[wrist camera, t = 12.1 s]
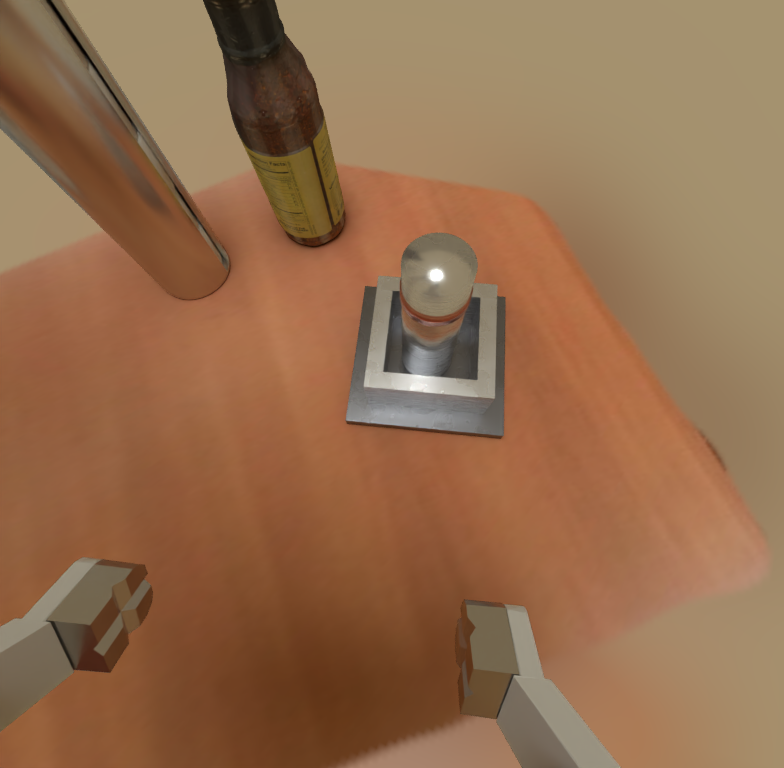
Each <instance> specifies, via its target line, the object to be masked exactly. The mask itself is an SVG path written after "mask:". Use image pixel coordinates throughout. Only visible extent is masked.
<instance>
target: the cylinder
mask: <svg viewBox="0 0 784 768" xmlns="http://www.w3.org/2000/svg"><path fill="white" fill-rule="evenodd" d="M477 267H478V264H477V258H476V255H475V253H474V251H473V250H472V248H471V247H470V246H469V245H468V244H467V243H466V242H465V241H464V240H462V239H460V238H459V237H456V236H454V235H451V234H447V233H431V234H426V235H423V236H421V237H419V238H417V239H415V240H414V241H413V242H411V243H410V244H409V245H408V247H407V248H406V249H405V251H404V253H403V256H402V260H401V279H400V302H401V306H402V360H403V364H404V366H405V367H406V369H407V370H408V371H409V372H410V373H411V374H412V375H424V376H435V377H438V376H440V375H442V374H443V373H444V372H445V371H446V370H447V369H448V368H449V366H450V363H451V360H452V356H453V353H454V349H455V346H456V342H457V339H458V335H459V332H460V328H461V325H462V322H463V318H464V315H465V312H466V310H467V309H468V306H469V303H470V300H471V297H472V293H473V283H474V280H475V276H476V273H477Z"/></svg>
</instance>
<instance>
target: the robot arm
mask: <svg viewBox="0 0 784 768" xmlns="http://www.w3.org/2000/svg"><path fill="white" fill-rule="evenodd" d="M147 574H148V573H147V570H146V567H145V565H143V564H135V563H127V562H119V561H111V560H104V559H96V558H87V557H82V558H81V559H79V560H77V561H76V562H74V563H73V564H72V565H71V566H70V567H69V568H68V570H67V571H66V572H65V573H64V574H63V575H62V576H61V577H60V578H59V579H58V580H57V581H56V582H55V584H54V585H53V586H52V587H51V588H50V589H49V590H48V591H47V592H46V593H45V594H44V595H43V596H42V597H41V599H40V600H39V601H38V602H37V603H36V604H35V605H34V606H33V607H32V608H31V609H30V610H29V611H28V613H27V614H26V615H25V616H24V617H23V618H15V619H13V620H11V621H10V622H8V623H6V624H4V625H2V626H1V627H0V732H1V731H2V730H3V729H4V728H6V727H7V726H8V725H9V724H11V723H12V722H13V721H14V720H16V719H17V718H18V717H19V716H21V715H22V714H23V713H24V712H25V711H27V710H28V709H29V708H30V707H32V706H33V705H34V704H35V703H37V702H38V701H39V700H40V699H42V698H43V697H44V696H45V695H47V694H48V693H49V692H50V691H51V690H53V689H54V688H55V687H56V686H58V685H59V684H60V683H61V682H63V681H64V680H65V679H66V678H68V677H69V676H70V675H71V674H72V673H74V670H83V671H95V672H106V673H110V672H111V671H112V669H113V668H114V666H115V664H116V663H117V661H118V660H119V658H120V657H121V655H122V654H123V652H124V650H125V649H126V647H127V646H128V644H129V633H130V632H132V631H133V630H135V629H136V628H138V627H139V626H140V625H141V624H142V622H143V621H144V619H145V617H146V616H147V614H148V612H149V609H150V606H151V603H152V598H153V591H152V587H151V585H150V584H149V583H148V582H147V581H146V580H144V578H145V577H146V575H147ZM455 653H456V662H457V664H458V665H459V667H460V668H461V670H460V674H459V678H458V693H459V705H460V714H464V715H471V716H478V717H485V718H491V719H497V724H498V725H499V727H500V729H501V731H502V733H503V734H504V736H505V738H506V740H507V742H508V743H509V745H510V747H511V749H512V751H513V752H514V754H515V756H516V758H517V759H518V761H519V763H520V765H521V767H522V768H621V767H620V766H619V764H618V763H617V762H616V761H615V760H614V758H613V757H612V756H611V754H610V753H609V752H608V751H607V749H606V748H605V747H604V746H603V744H602V743H601V742H600V741H599V739H598V738H597V737H596V736H595V734H594V733H593V732H592V730H591V729H590V728H589V727H588V726H587V724H586V723H585V722H584V720H583V719H582V718H581V717H580V715H579V714H578V713H577V712H576V710H575V709H574V708H573V707H572V705H571V704H570V703H569V702H568V700H567V699H566V698H565V697H564V695H563V694H562V693H561V692H560V690H559V689H558V688H557V686H556V685H555V684H554V683H553V682H552V680H551V679H545V678H544V674H543V671H542V667H541V663H540V659H539V655H538V651H537V647H536V644H535V640H534V636H533V632H532V628H531V624H530V620H529V616H528V613H527V610H526V609H525V607H524V606H520V605H509V604H502V603H496V602H485V601H474V600H463V602H462V605H461V618H460V619H458V621H457V626H456V635H455Z"/></svg>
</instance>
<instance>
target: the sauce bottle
mask: <svg viewBox="0 0 784 768" xmlns="http://www.w3.org/2000/svg"><path fill="white" fill-rule="evenodd" d="M203 2H204V4H205V7H206V9H207V12H208V14H209V16H210V19H211V21H212V24H213V27H214V28H215V32H216V34H217V39H218V43H219V46H220V48H221V50H222V53H223V59H224V65H225V71H226V77H227V98H228V102H229V106H230V111H231V115H232V119H233V122H234V125H235V128H236V130H237V132H238V134H239V137H240V139H241V141H242V143H243V145H244V147H245V149H246V151H247V154H248V156H249V158H250V160H251V162H252V164H253V167H254V169H255V171H256V173H257V176H258V178H259V180H260V182H261V184H262V186H263V189H264V191H265V193H266V195H267V197H268V199H269V202H270V204H271V206H272V208H273V210H274V213H275V215H276V217H277V219H278V221H279V223H280V225H281V226H282V227H283V228H284V230H285V231H286V233H287V235H288V236H289V237H290V238H291V239H293V240H294V241H296V242H298V243H300V244H304V245H309V246H317V245H321V244H324V243H326V242H328V241H330V240H331V239H333V238H335V237H336V236H337V235H338V234H339V233H340V231H341V230H342V227H343V224H344V220H345V211H344V202H343V197H342V192H341V188H340V184H339V179H338V174H337V170H336V166H335V161H334V157H333V153H332V148H331V144H330V139H329V135H328V130H327V126H326V122H325V117H324V113H323V109H322V107H321V105H320V103H319V98H318V93H317V88H316V83H315V81H314V78H313V76H312V74H311V73H310V71H309V70H308V68H307V65H306V62H305V59H304V57H303V55H302V54H301V53H300V52H299V51H298V49H297V48H296V47H295V46H294V45H293V43H292V42H291V41H290V39H289V38H288V37H287V36H286V34H285V33H284V27H283V24H282V21H281V20H280V18H279V15H278V10H277V6H276V3H275V0H203Z"/></svg>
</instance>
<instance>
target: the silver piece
mask: <svg viewBox="0 0 784 768" xmlns="http://www.w3.org/2000/svg"><path fill="white" fill-rule="evenodd" d="M0 129H1V130H2V131H3V132H4V133H6V134H7V136H8V137H10V138H11V140H13V141H14V142H15V143H16V144H17V145H18V146H19V147H20V148H21V149H22V150H23V151H24V152H25V153H26V154H27V155H28V156H29V157H30V158H31V159H32V160H33V161H34V162H35V163H36V164H37V165H38V166H39V167H40V168H41V169H42V170H43V171H44V172H45V173H46V174H47V175H48V176H49V177H50V178H51V179H52V180H53V181H54V182H55V183H56V184H57V185H58V186H59V187H60V188H61V189H62V190H63V191H64V192H65V193H66V194H67V195H69V196H70V197H71V198H72V199H73V200H74V201H75V202H76V203H77V204H78V205H79V206H80V207H81V208H82V209H83V210H84V211H85V212H86V213H87V214H88V215H89V216H90V217H91V218H92V219H93V220H94V221H95V222H96V223H97V224H98V225H99V226H100V227H101V228H102V229H103V230H104V231H105V232H106V233H107V234H108V235H109V236H110V237H111V238H112V239H113V240H114V241H115V242H116V243H117V244H118V245H119V246H120V247H121V248H122V249H123V250H125V251H126V252H127V253H128V254H129V255H130V256H131V257H132V258H133V259H134V260H135V261H136V262H137V263H138V264H139V265H140V266H141V267H142V268H143V269H144V270H145V271H146V272H147V273H148V274H149V275H150V276H151V277H152V278H153V279H154V280H155V281H156V282H157V283H158V284H159V285H160V286H161V287H162V288H163V289H164V290H165V291H166V292H167V293H169V294H171V295H172V296H174V297H176V298H180V299H189V300H193V299H198V298H202V297H205V296H207V295H209V294H211V293H213V292H214V291H215V290H217V289H218V288H219V287H220V286H221V285H222V284H223V283H224V281H225V280H226V278H227V276H228V274H229V269H230V260H229V256H228V254H227V252H226V250H225V249H224V247H223V245H222V244H221V242H220V241H219V239H218V238H217V236H216V235H215V233H214V232H213V230H212V228H211V227H210V225H209V224H208V222H207V221H206V219H205V218H204V216H203V214H202V213H201V211H200V210H199V208H198V207H197V205H196V204H195V202H194V201H193V199H192V197H191V196H190V194H189V193H188V191H187V190H186V188H185V187H184V185H183V184H182V182H181V180H180V179H179V178H178V176H177V174H176V173H175V171H174V170H173V168H172V167H171V165H170V163H169V162H168V160H167V159H166V157H165V156H164V154H163V153H162V151H161V150H160V148H159V146H158V145H157V143H156V142H155V140H154V139H153V137H152V136H151V134H150V133H149V131H148V129H147V128H146V126H145V125H144V123H143V122H142V120H141V119H140V117H139V115H138V114H137V113H136V111H135V109H134V108H133V106H132V105H131V103H130V102H129V100H128V98H127V97H126V95H125V94H124V92H123V91H122V89H121V88H120V86H119V85H118V83H117V81H116V80H115V79H114V77H113V75H112V74H111V72H110V71H109V69H108V67H107V66H106V64H105V63H104V61H103V60H102V58H101V57H100V55H99V54H98V53H97V50H96V49H95V47H94V46H93V44H92V43H91V41H90V40H89V38H88V37H87V35H86V33H85V32H84V30H83V29H82V27H81V26H80V24H79V23H78V21H77V20H76V18H75V17H74V15H73V13H72V12H71V10H70V9H69V7H68V6H67V4H66V3H65V1H64V0H0Z"/></svg>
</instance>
